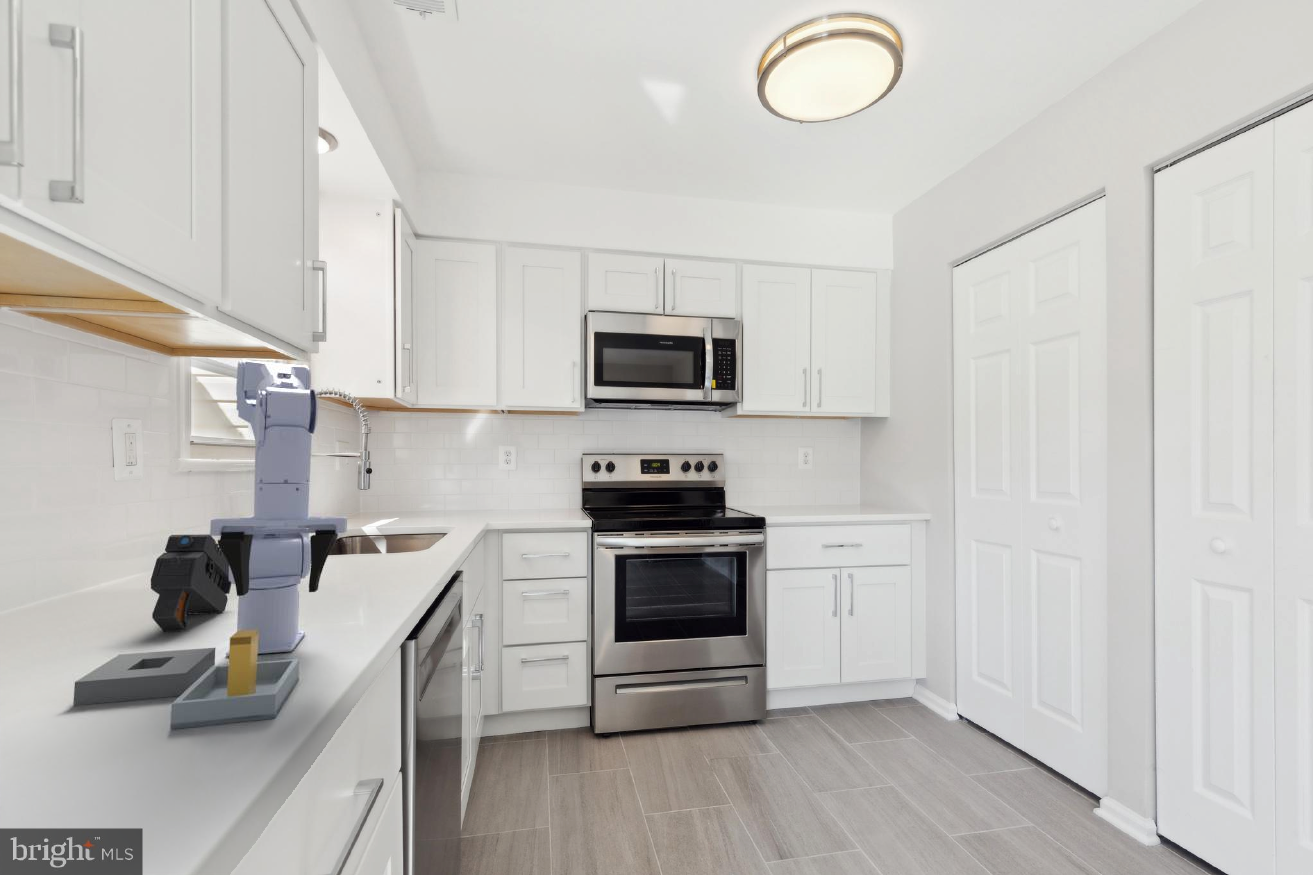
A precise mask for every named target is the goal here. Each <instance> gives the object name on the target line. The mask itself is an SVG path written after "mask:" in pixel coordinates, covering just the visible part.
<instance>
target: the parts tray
mask: <svg viewBox="0 0 1313 875" xmlns="http://www.w3.org/2000/svg"><path fill="white" fill-rule="evenodd" d="M228 668H229V663H228V664H217V665H215V666H212V667H211V668H210V669H209V670H208V671H207V672H205V673H204V674H203V675H202V676H201V677H200V678H199V679H198V680H197V681H196V682H195V683H194V684H193V685H191V686H190V687H189V688H188V689H187V690H186V691H185V692H184V693H183V694H182V695H181V696H177V697H176V699H175V700H174V701H173V702H172V703H171V706H170V707H171V708H170V709H171V711H170V724H169V725H170V727H169V729H170V730H176V729H188V728H189V729H190V728H197V727H198V728H199V727H206V726H215V725H223V724H233V723H243V722H250V721H251V722H252V721H260V720H271V719H276V717H277V715H278V713H279V711H281V709H282V707H283V705H284V704H285V702H286V700H287V699H288V697H289V696H290V694H291V692H292V691H293V689H294V688H295V685H297V682H298V681H299V680H300V679H299V678H300V658H295V659H294V658H293V659H281V660H267V661H257V675H256V692H255V693H254V694H250V695H239V696H228V697H227V688H228Z"/></svg>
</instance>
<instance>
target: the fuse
mask: <svg viewBox="0 0 1313 875" xmlns="http://www.w3.org/2000/svg"><path fill="white" fill-rule="evenodd" d="M258 634H259V629H256V630H241V631H237V630H236V632H235V633H234V634H233V635H231V636H230V637H229V649H228V650H229V656H228V664H229V668H228V688H227V697H228V696H239V695H250V694H254V693H255V692H256V675H257V662H258Z"/></svg>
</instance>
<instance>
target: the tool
mask: <svg viewBox="0 0 1313 875" xmlns="http://www.w3.org/2000/svg"><path fill="white" fill-rule="evenodd" d="M164 551H165V552H163V553H162V554H161V555H160V556H158V557H157V558H156V561H155V564H154V566H153V567H154V568H153V571H152V574H151V578H150V590H152V591H153V592H154V593H156V594H158V595H159V596H158V598H157V600H156V602H155V605H154V609H153V611H152V613H151V614H152V615H151V618H152V620H153V621H154V622H155V624H156V625H157V626H158V627H159V628H160V629H161V632H178V631H179V632H180V630H184V631H186V629H187V625H188V620H187V618H186V616H187V615H190V614H189V613H208V614H223V613H224V612H225V610H226V606H227V604H228V595H229V594H230V592H231V587H232V585H233V584H232V582H230V581H229V564H228V562H227V560H226V558H225V556H224V554H223V552H222V551H221V549H220V548H219V545H218V542H217V540H215V538H214V537H213V536H210V533H209V534H206V533H205V534H171V535H169V536H168V539H167V542H166V545H165V548H164ZM223 611H224V612H223ZM222 612H223V613H222Z"/></svg>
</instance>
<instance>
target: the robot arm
mask: <svg viewBox="0 0 1313 875" xmlns="http://www.w3.org/2000/svg"><path fill="white" fill-rule="evenodd" d="M236 370H237V371H236V387H235V388H236V390H235V391H236V392H235V393H236V394H235V395H236V411H238V412H237V413H238V417H237V418H240V419H242V420H243V421H245V422H247V423H249V424H250V426H251V430H252V433H253V437H254V444H255V445H254V449H255V450H254V454H255V455H254V489H253V490H254V492H253V493H254V497H253V498H254V499H253V500H254V502H253V504H254V505H253V507H254V508H253V516H252V517H237V518H235V517H234V518H233V517H232V518H231V517H230V518H229V517H228V518H213V519H211V520H210V526H209V527H210V528H209V530H210V531H209V534H210V536H212V537H219V536H220V538H219V539H218V540H217V544H218V547H219V548H220V549H221V551H222V552H223V554H224V556H225V558H226V560H227V562H228V564H229V581H230V582H232V584H231V585H235V591H236V596H237V597H238V604H237V623H236V624H237V626H236V632H237V631H241V630H256V629H259V634H258V654H260V655H261V654H271V653H282V652H283V653H284V652H292V651H293V650H294V649H295V648H296V646H298V644H299V643H300V641H301V640H302V638H304V635H305V634H306V631H305V630H299V615H300V613H299V612H300V611H299V610H300V591H299V584H301V580H302V579H306V577H307V576H308V575H309V581H308V592H309V593H315V592H317V591H318V590H319V586H320V585H319V584H320V581H321V575H322V572H323V569H324V566H325V563H326V561H327V558H328V557H329V555H330V553H331V551H332V548H333V546H334V544H335V543H336V541H337V539H338V537H339V534H345V533H346V532H347V531H348V516H309V508H310V506H309V505H310V504H309V502H310V482H311V457H312V435H314V433H315V431H316V427H317V424H318V418H319V403H318V402H319V401H318V394H317V392H316V389H314V388H311V387H312V386H311V385H312V383H311V382H312V374H311V369H310V368H309V367H308V365H307V364H302V365H298V364H287V363H279V362H278V363H277V362H276V363H275V362H269V361H268V362H266V361H254V360H247V359H245V358H242V359H241V360H240V361H238V362H237V369H236ZM310 534H313V535H311V536H310ZM258 654H257V655H258ZM225 656H226V657H229V649H228V650H227V651H226V652H225Z"/></svg>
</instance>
